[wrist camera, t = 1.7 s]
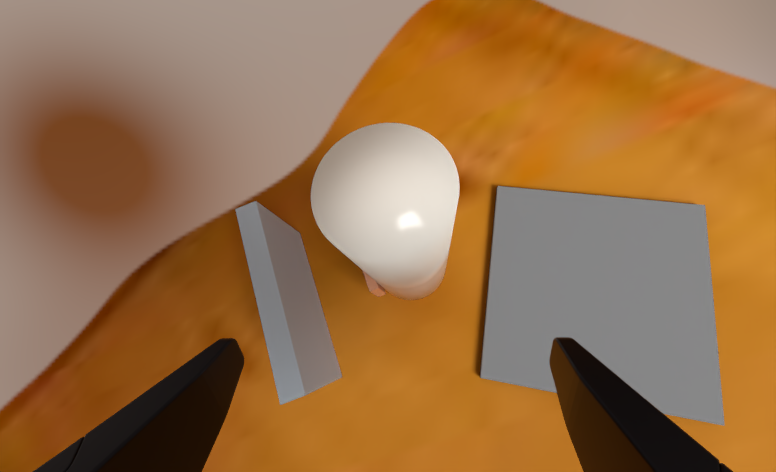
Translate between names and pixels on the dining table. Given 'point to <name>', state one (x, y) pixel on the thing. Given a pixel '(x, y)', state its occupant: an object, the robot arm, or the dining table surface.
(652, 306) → the slate mat
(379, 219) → the white rounded cylinder
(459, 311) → the dining table surface
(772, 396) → the dining table surface
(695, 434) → the dining table surface
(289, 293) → the screen
